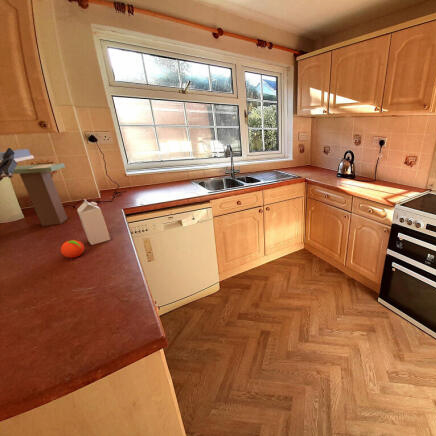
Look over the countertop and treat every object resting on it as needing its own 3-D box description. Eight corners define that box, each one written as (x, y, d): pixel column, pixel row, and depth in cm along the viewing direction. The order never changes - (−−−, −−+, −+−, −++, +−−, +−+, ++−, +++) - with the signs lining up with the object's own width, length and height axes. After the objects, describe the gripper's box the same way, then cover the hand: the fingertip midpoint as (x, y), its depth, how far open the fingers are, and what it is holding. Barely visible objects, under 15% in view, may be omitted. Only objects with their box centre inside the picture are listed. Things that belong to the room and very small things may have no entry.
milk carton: (91, 245, 106) (76, 204, 99) (88, 240, 110) (73, 200, 103) (110, 240, 110) (97, 200, 103) (106, 235, 115) (94, 197, 108)
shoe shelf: (71, 224, 128) (49, 167, 117) (22, 230, 122) (-6, 170, 111) (82, 215, 141) (63, 163, 130) (39, 220, 135) (15, 165, 124)
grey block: (3, 164, 100) (-2, 153, 99) (-11, 165, 99) (-17, 154, 97) (34, 158, 120) (30, 148, 118) (22, 159, 118) (18, 149, 117)
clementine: (93, 253, 99) (87, 237, 97) (76, 262, 93) (69, 245, 90) (77, 251, 101) (71, 236, 98) (59, 260, 95) (52, 243, 92)
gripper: (-42, 197, 91) (-17, 159, 105) (18, 192, 97) (35, 156, 110) (-61, 183, 86) (-32, 144, 99) (4, 178, 91) (23, 142, 105)
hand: (3, 151), depth 105 cm, fingers closed on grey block, 4 cm apart
